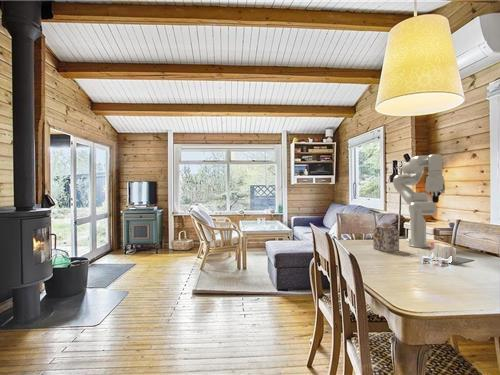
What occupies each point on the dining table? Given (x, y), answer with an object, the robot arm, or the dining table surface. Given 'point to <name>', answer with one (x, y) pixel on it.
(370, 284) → the dining table surface
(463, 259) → the mat
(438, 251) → the ink cartridge box
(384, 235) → the decorative jar
